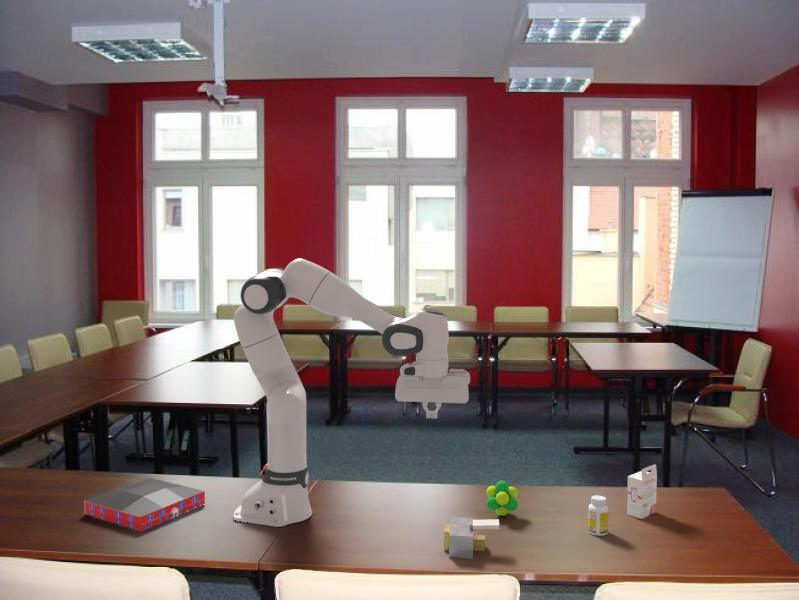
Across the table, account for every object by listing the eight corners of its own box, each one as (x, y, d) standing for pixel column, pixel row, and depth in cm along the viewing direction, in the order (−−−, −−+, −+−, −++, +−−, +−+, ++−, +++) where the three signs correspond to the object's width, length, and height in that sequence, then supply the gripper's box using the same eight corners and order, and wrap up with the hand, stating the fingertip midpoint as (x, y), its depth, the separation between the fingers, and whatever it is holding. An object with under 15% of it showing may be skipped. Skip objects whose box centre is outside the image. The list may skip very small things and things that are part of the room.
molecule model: (501, 498, 214) (483, 486, 211) (520, 488, 210) (502, 476, 207) (501, 520, 208) (483, 508, 205) (520, 510, 204) (502, 498, 201)
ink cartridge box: (641, 508, 215) (642, 460, 213) (656, 512, 211) (658, 464, 210) (625, 514, 209) (627, 465, 208) (641, 519, 205) (642, 469, 204)
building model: (143, 534, 193) (142, 511, 193) (83, 516, 206) (83, 494, 205) (207, 507, 214) (207, 485, 214) (149, 492, 226) (149, 472, 226)
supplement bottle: (608, 530, 197) (609, 495, 197) (607, 537, 192) (608, 502, 192) (588, 527, 199) (589, 493, 198) (586, 534, 194) (587, 499, 193)
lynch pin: (443, 550, 183) (444, 531, 183) (444, 542, 188) (445, 524, 188) (484, 552, 182) (485, 533, 182) (484, 544, 187) (484, 526, 187)
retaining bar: (469, 525, 182) (499, 525, 182) (469, 519, 186) (498, 519, 186) (469, 529, 183) (499, 529, 182) (469, 523, 186) (499, 523, 186)
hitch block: (448, 557, 179) (449, 535, 179) (451, 537, 192) (451, 516, 191) (472, 558, 179) (473, 536, 178) (473, 538, 191) (473, 517, 191)
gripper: (470, 367, 197) (469, 416, 198) (397, 365, 199) (396, 414, 200) (470, 371, 190) (469, 422, 191) (394, 369, 193) (394, 419, 194)
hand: (431, 417), depth 196 cm, fingers closed
